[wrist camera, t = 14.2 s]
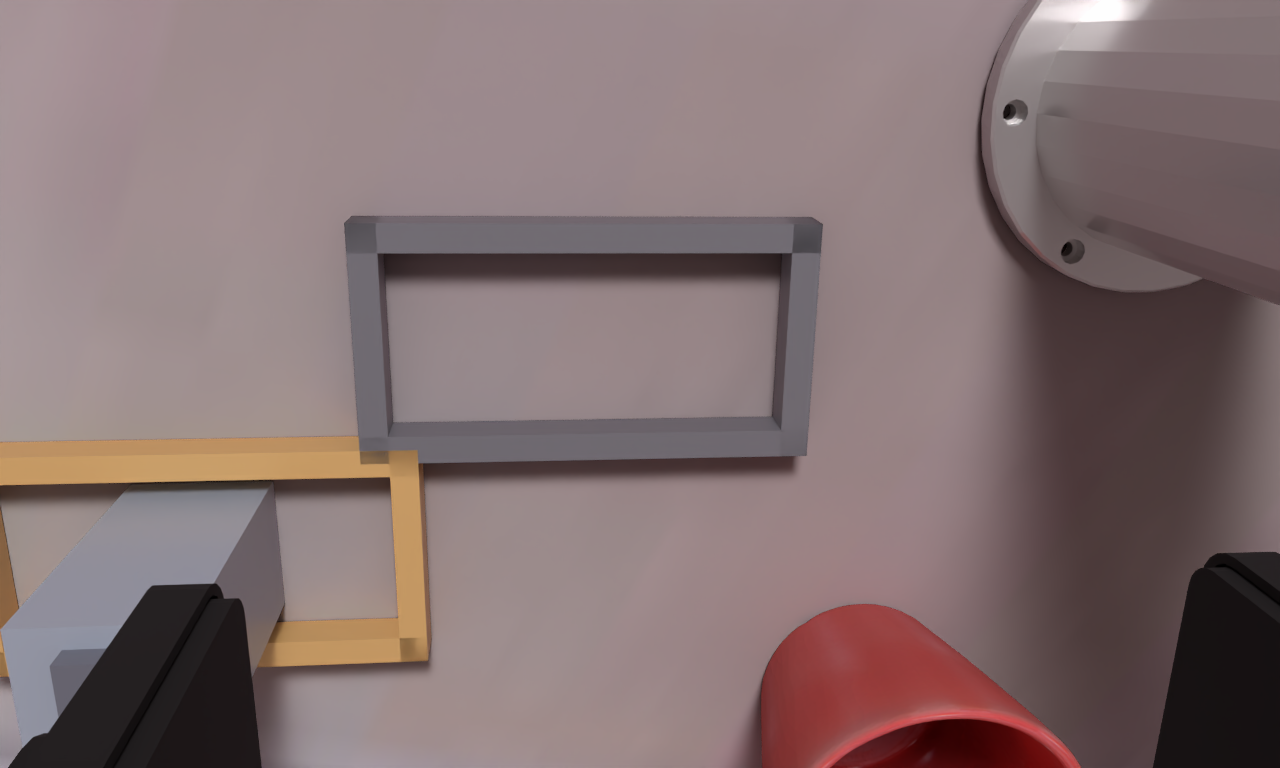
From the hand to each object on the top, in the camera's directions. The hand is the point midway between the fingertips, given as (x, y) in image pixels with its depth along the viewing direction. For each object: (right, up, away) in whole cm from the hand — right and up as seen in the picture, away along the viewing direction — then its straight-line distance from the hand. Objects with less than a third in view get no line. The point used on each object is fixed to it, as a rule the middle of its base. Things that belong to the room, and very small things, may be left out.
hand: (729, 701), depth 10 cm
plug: (-17, -3, +29) cm, 34 cm away
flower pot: (+8, -9, +34) cm, 36 cm away
